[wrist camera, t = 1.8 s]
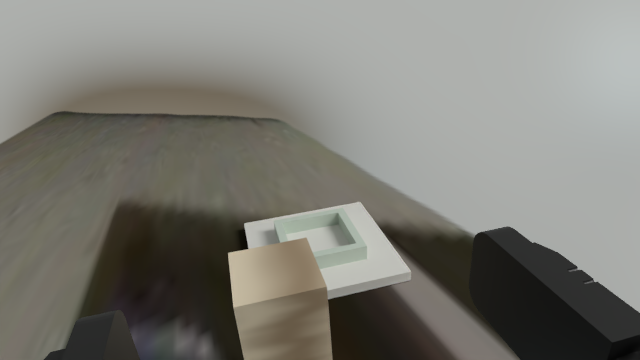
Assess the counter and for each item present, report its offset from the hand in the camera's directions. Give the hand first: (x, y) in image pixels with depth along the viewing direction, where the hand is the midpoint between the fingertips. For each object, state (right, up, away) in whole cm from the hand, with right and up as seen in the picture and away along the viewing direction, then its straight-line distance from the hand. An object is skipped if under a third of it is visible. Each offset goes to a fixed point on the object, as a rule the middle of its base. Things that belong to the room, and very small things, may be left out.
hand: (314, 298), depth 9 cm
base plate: (0, -5, +34) cm, 34 cm away
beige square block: (-2, -13, +18) cm, 22 cm away
